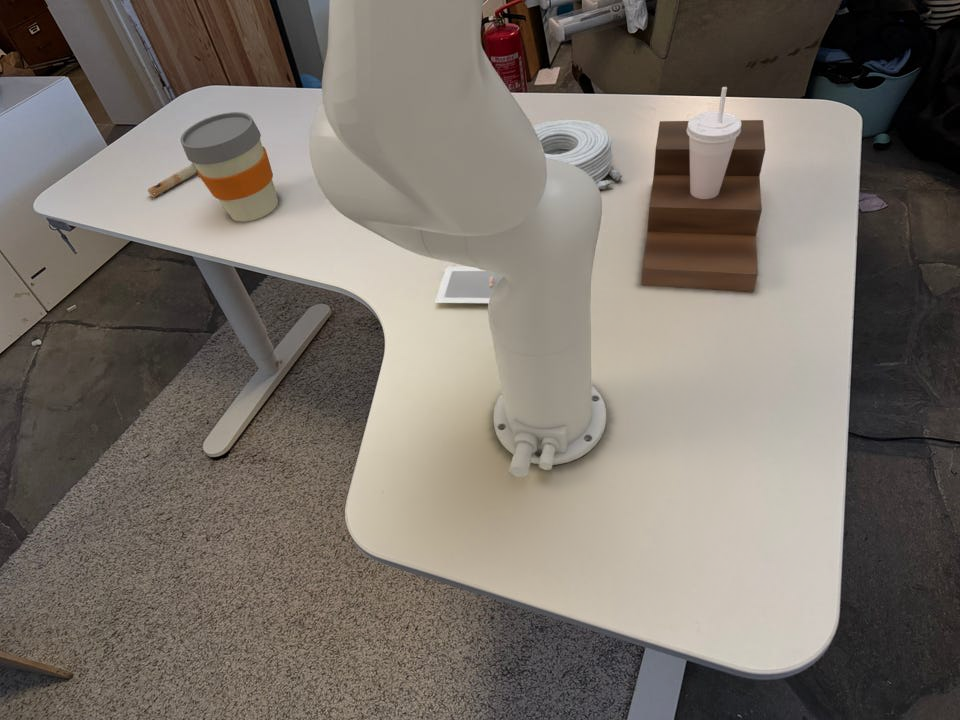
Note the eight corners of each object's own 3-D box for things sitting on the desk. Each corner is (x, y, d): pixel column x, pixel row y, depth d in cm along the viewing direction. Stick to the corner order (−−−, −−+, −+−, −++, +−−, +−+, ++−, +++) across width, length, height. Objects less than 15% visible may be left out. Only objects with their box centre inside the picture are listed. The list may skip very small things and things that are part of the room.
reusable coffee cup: (255, 183, 116) (219, 107, 105) (301, 195, 111) (269, 116, 100) (206, 219, 110) (163, 142, 99) (253, 233, 104) (213, 153, 93)
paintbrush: (237, 139, 124) (150, 190, 116) (243, 151, 126) (158, 202, 118) (227, 135, 126) (142, 184, 118) (234, 147, 128) (150, 196, 120)
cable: (627, 186, 98) (628, 151, 93) (523, 211, 97) (519, 177, 93) (592, 138, 110) (591, 105, 105) (499, 160, 109) (495, 128, 105)
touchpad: (543, 309, 81) (542, 297, 79) (435, 308, 84) (432, 296, 82) (548, 272, 86) (547, 260, 84) (447, 272, 89) (444, 260, 88)
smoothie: (731, 204, 79) (751, 99, 69) (680, 205, 80) (691, 101, 70) (728, 178, 83) (746, 74, 73) (679, 179, 85) (690, 78, 74)
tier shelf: (753, 292, 77) (771, 219, 69) (641, 285, 81) (645, 216, 73) (749, 188, 92) (763, 119, 85) (654, 187, 96) (659, 121, 88)
